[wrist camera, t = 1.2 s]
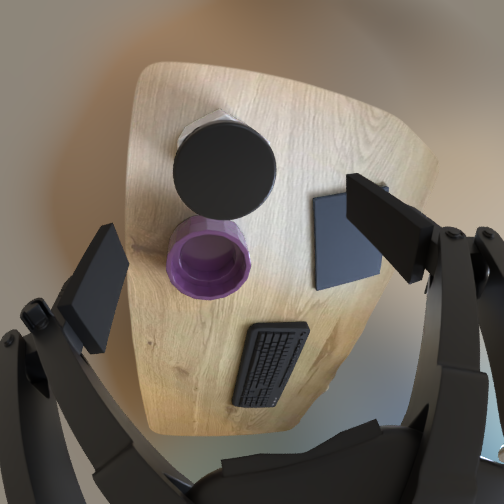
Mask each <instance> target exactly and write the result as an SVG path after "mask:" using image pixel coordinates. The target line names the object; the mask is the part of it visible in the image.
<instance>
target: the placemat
mask: <svg viewBox="0 0 504 504" xmlns="http://www.w3.org/2000/svg"><path fill="white" fill-rule="evenodd" d="M381 188H382V189H384V190H385V191H387V192H389V187H387V186H384V187H381ZM313 210H314V234H315V281H316V291H319V290H323V289H326V288H330V287H334V286H338V285H342V284H345V283H349V282H353V281H356V280H360V279H363V278H367V277H370V276H374V275H377V274H380V268H381V261H382V254H381V253H380V252H379V251H378V250H377V249H376V248H375V247H374V245H373V244H372V243H371V242H370V241H369V240H368V239H367V238H366V237H365V236H364V235H363V234H362V233H361V232H360V231H359V230H358V229H357V228H356V227H355V226H354V225H353V224H352V223H351V222H350V221H349V220H348V219H347V218H346V193H340V194H334V195H328V196H322V197H317V198H313Z"/></svg>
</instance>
